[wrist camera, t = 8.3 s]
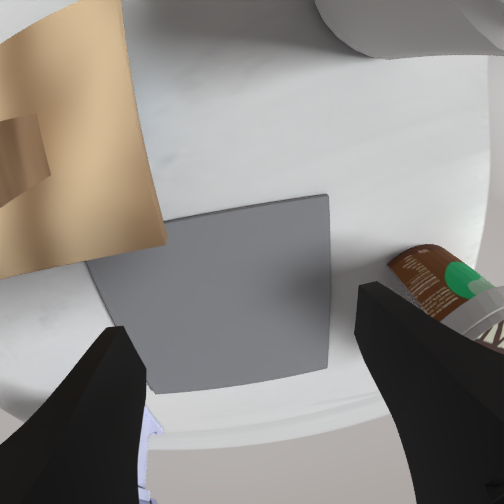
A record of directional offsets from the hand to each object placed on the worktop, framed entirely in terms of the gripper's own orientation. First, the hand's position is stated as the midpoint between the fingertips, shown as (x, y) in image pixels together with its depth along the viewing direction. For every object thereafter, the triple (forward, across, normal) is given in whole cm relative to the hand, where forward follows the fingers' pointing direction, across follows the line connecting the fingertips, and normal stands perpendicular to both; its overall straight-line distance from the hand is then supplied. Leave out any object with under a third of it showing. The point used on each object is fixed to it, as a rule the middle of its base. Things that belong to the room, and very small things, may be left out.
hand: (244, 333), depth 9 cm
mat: (+10, +2, +8) cm, 13 cm away
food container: (+11, -16, +8) cm, 21 cm away
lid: (+6, +9, -7) cm, 13 cm away
